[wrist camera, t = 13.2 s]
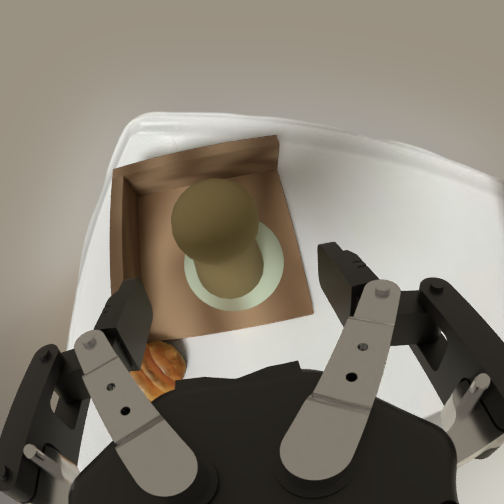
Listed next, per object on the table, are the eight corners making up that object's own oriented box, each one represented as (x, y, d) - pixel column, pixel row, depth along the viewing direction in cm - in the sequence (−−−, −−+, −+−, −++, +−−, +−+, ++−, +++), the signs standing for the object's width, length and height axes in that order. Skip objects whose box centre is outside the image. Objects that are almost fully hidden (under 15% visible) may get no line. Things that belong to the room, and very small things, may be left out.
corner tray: (274, 165, 30) (276, 135, 25) (312, 314, 25) (324, 306, 20) (131, 194, 29) (113, 169, 25) (140, 343, 24) (115, 341, 19)
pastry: (164, 322, 25) (150, 318, 21) (204, 385, 23) (195, 392, 20) (93, 368, 23) (71, 369, 20) (126, 427, 22) (109, 436, 18)
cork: (196, 300, 25) (152, 264, 14) (196, 235, 26) (162, 167, 16) (266, 297, 24) (271, 258, 14) (261, 232, 26) (263, 158, 16)
